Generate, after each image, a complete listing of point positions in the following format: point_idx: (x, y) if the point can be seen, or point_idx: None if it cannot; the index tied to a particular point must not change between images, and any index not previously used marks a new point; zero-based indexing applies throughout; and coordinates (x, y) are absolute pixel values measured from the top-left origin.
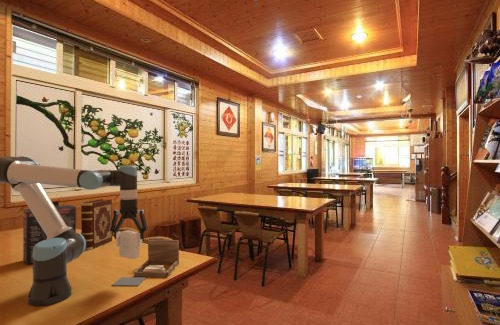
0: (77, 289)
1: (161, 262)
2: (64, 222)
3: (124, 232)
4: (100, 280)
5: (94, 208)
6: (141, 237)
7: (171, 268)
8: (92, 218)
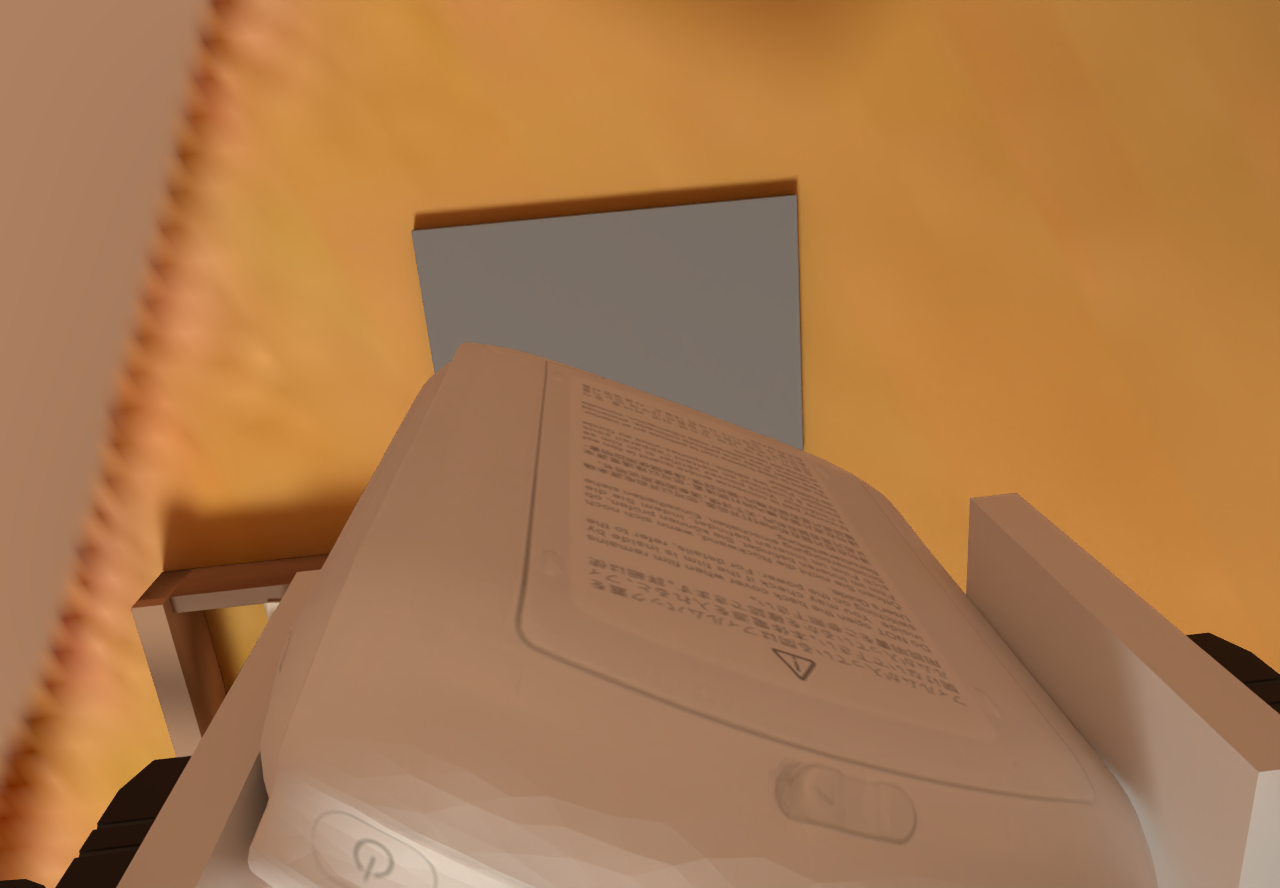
0: (1222, 18)
1: None
2: None
3: (941, 866)
4: (1048, 347)
5: None
6: (164, 799)
7: (177, 742)
8: None
